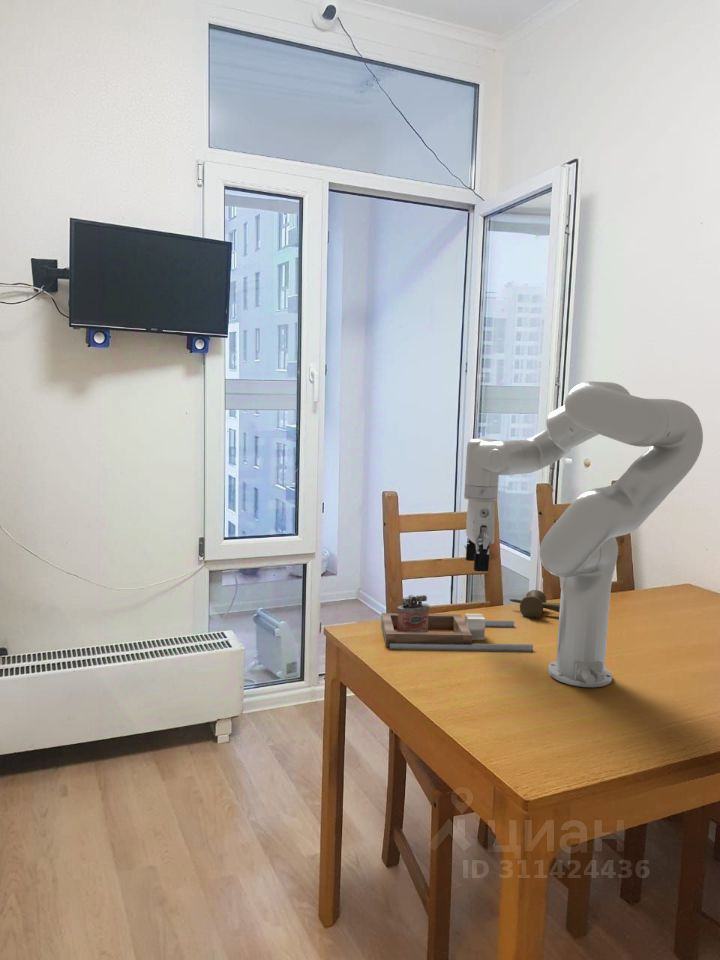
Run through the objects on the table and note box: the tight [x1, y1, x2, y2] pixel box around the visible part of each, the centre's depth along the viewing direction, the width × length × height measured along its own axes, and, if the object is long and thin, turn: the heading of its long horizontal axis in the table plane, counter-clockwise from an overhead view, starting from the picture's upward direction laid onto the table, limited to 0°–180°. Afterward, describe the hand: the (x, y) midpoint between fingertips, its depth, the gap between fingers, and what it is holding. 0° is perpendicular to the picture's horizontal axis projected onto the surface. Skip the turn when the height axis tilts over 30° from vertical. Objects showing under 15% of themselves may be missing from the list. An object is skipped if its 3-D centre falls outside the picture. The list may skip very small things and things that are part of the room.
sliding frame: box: [380, 612, 486, 648], centre depth 168 cm, size 15×23×5 cm, turn 92°
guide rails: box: [388, 619, 534, 652], centre depth 168 cm, size 18×32×2 cm, turn 92°
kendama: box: [509, 589, 560, 620], centre depth 188 cm, size 6×10×20 cm
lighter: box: [396, 594, 431, 632], centre depth 167 cm, size 8×3×10 cm, turn 114°
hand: (476, 565), depth 167 cm, fingers open, 9 cm apart
